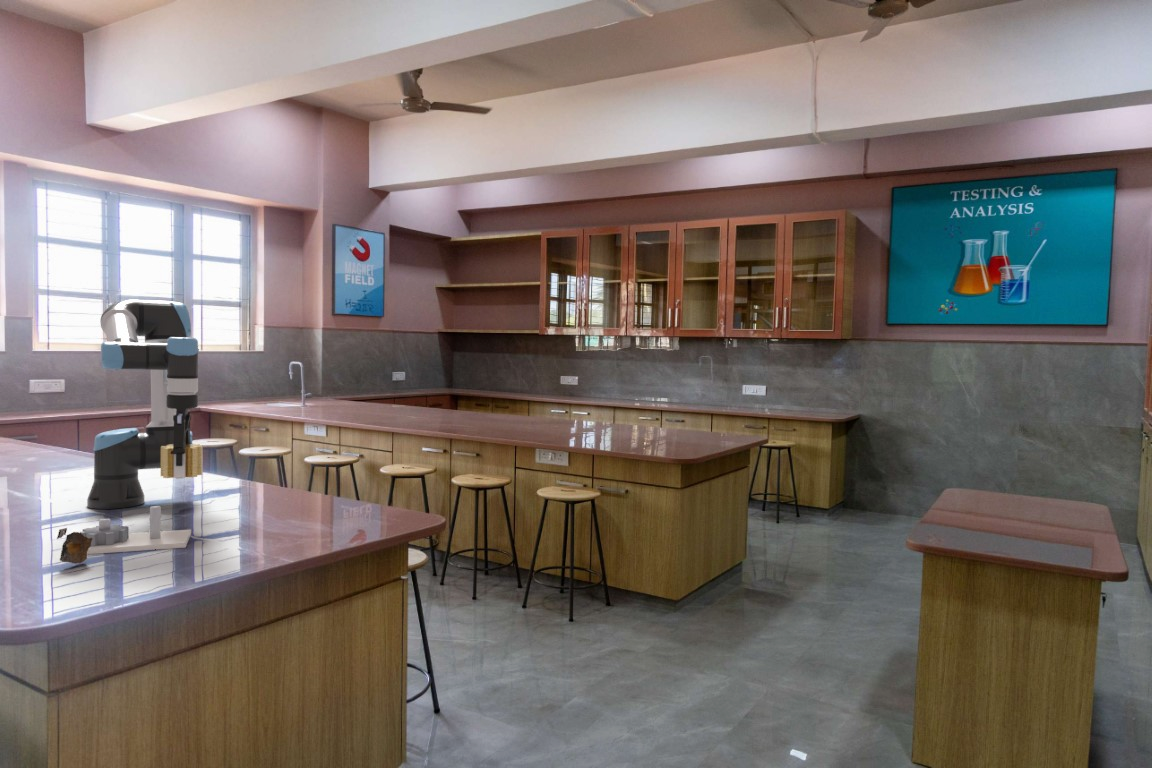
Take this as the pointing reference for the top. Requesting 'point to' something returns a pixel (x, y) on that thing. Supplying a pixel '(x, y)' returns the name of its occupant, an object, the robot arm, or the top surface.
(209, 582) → the top surface
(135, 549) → the gear board
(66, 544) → the rock
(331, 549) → the top surface
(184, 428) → the robot arm
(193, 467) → the brass gear
